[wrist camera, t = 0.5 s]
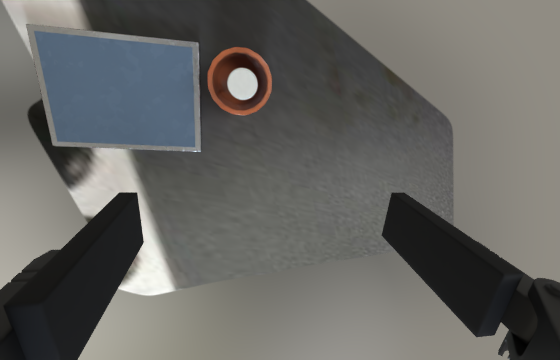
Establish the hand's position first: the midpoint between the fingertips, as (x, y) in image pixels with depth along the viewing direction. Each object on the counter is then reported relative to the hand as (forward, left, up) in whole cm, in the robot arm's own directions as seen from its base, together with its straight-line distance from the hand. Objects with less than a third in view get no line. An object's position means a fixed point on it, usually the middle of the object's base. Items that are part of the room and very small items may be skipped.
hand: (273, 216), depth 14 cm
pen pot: (-6, -2, -29) cm, 30 cm away
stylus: (-6, -2, -29) cm, 30 cm away
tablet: (-3, -17, -29) cm, 34 cm away
